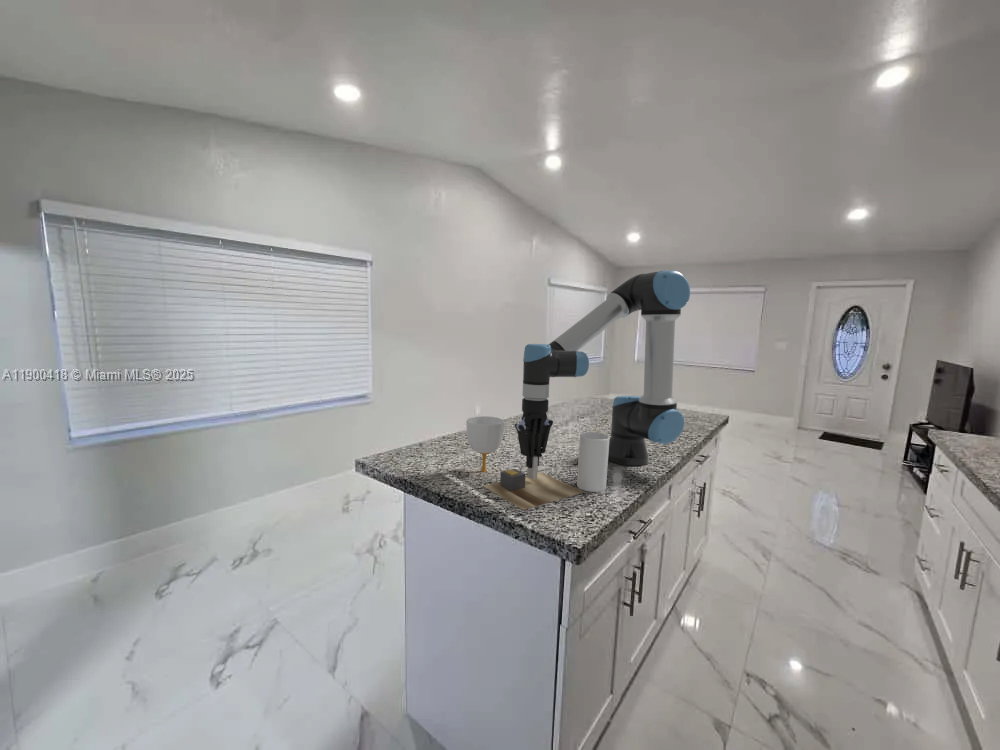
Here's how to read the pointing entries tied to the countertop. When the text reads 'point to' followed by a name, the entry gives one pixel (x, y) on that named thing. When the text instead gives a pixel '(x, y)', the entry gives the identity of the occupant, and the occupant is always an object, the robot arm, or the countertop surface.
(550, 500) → the panel
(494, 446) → the cup
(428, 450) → the countertop surface
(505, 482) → the dark grey box
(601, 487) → the cup
